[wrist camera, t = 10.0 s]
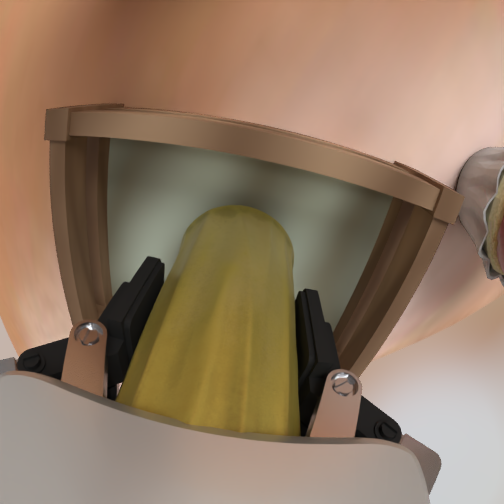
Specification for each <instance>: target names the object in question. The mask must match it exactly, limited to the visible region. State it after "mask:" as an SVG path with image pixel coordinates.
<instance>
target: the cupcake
mask: <svg viewBox="0 0 504 504" xmlns="http://www.w3.org/2000/svg"><path fill="white" fill-rule="evenodd" d="M456 192H458V193H459V194H461V195H463V196H464V197H465V198H464V201H463V204H462V206H461V209H460V211H459V214H458V215H459V218H460V221H461V223H462V225H463V226H464V228H465V229H466V231H467V232H468V234H469V235H470V237H471V238H472V240H473V242H474V243H475V245H476V247H477V251H478V254H479V256H480V257H481V258H482V261H483V264H484V268H485V272H486V275H487V278H488V279H491V280H493V279H496V278H498V277H499V279H500V281H501V283H502V285H503V286H504V147H488V148H484V149H482V150H480V151H478V152H476V153H475V154H473V155H472V156H471V157H470V158H469V160H468V161H467V162H466V164H465V165H464V167H463V169H462V171H461V173H460V176H459V180H458V184H457V190H456Z"/></svg>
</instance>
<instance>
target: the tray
mask: <svg viewBox="0 0 504 504" xmlns="http://www.w3.org/2000/svg"><path fill="white" fill-rule="evenodd" d="M123 106H124V104H91V105H79V106H69V107H61V108H53V109H46V119H45V136H44V140H50V195H51V209H52V220H53V229H54V237H55V245H56V251H57V257H58V263H59V269H60V274H61V279H62V284H63V288H64V293H65V297H66V301H67V305H68V309H69V313H70V317H71V321H72V324H73V326H74V325H75V324H76V323H78V322H80V321H82V320H87V319H92V320H98V319H99V317H100V316H101V314H102V312H103V311H104V309H105V308H106V306H107V305H108V303H109V302H110V300H111V299H112V297H113V296H114V294H115V293H116V291H117V290H118V288H119V287H120V286H121V284H122V283H123V282H125V281H126V282H130V281H131V279H132V278H133V276H134V275H135V273H136V272H137V270H138V269H139V268H140V266H141V265H142V263H143V262H144V260H145V259H146V257H147V256H151V257H155V258H160V259H161V262H162V263H165V274H164V282H165V280H166V278H167V276H168V274H169V272H170V270H171V268H172V266H173V264H174V262H175V260H176V258H177V255H178V253H179V248H180V245H181V241H182V238H183V235H184V233H185V231H186V229H187V228H188V227H189V225H190V224H191V223H192V222H193V221H194V220H195V219H196V218H198V217H199V216H200V215H202V214H203V213H205V212H206V211H208V210H210V209H213V208H216V207H221V206H227V205H243V206H248V207H252V208H255V209H258V210H260V211H262V212H264V213H266V214H268V215H270V216H271V217H273V218H274V219H275V220H276V221H278V222H279V223H280V224H281V226H282V227H283V228H284V229H285V231H286V232H287V234H288V236H289V238H290V240H291V242H292V245H293V250H294V265H293V282H294V297H295V299H296V297H297V294H298V292H299V291H303V290H304V289H305V288H307V289H312V290H317V291H318V294H319V298H320V302H321V307H322V311H323V316H324V320H325V322H328V323H330V325H331V328H332V332H333V336H334V340H335V345H336V349H337V354H338V358H339V363H340V368H341V369H344V370H348V371H350V372H352V373H353V374H355V375H356V376H357V377H358V378H359V377H360V375H361V374H362V373H363V371H364V370H365V369H366V367H367V366H368V365H369V363H370V362H371V360H372V359H373V358H374V356H375V355H376V353H377V352H378V351H379V349H380V348H381V346H382V345H383V343H384V342H385V340H386V339H387V337H388V336H389V334H390V333H391V331H392V330H393V328H394V326H395V325H396V323H397V322H398V320H399V318H400V317H401V315H402V314H403V312H404V310H405V309H406V307H407V305H408V303H409V302H410V300H411V298H412V297H413V295H414V293H415V291H416V289H417V288H418V286H419V284H420V282H421V280H422V278H423V276H424V274H425V272H426V271H427V269H428V267H429V265H430V263H431V261H432V259H433V256H434V254H435V252H436V250H437V248H438V246H439V244H440V242H441V239H442V237H443V235H444V233H445V230H446V228H447V226H448V223H450V224H452V225H454V224H455V221H456V219H457V216H458V214H459V211H460V209H461V206H462V204H463V201H464V198H465V197H464V196H463V195H461V194H459V193H458V192H456V191H454V190H453V189H451V188H449V187H447V186H446V185H444V184H442V183H440V182H438V181H437V180H435V179H433V178H431V177H429V176H427V175H425V174H423V173H421V172H420V171H418V170H416V169H414V168H411V167H409V166H406V165H404V164H401V163H399V162H396V161H395V163H394V164H392V163H390V162H387V161H384V160H382V159H379V158H376V157H374V156H371V155H368V154H365V153H362V152H359V151H356V150H353V149H350V148H347V147H344V146H341V145H337V144H334V143H331V142H327V141H324V140H320V139H317V138H313V137H310V136H306V135H302V134H298V133H294V132H290V131H286V130H282V129H278V128H273V127H269V126H264V125H260V124H255V123H250V122H245V121H239V120H234V119H228V118H222V117H216V116H209V115H202V114H195V113H187V112H178V111H169V110H158V109H144V108H126V107H123Z"/></svg>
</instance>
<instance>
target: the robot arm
mask: <svg viewBox="0 0 504 504" xmlns="http://www.w3.org/2000/svg"><path fill="white" fill-rule="evenodd" d="M164 274H165V263H162V262H161V259H160V258H155V257H151V256H147V257H146V259H145V260H144V262H143V263H142V265H141V266H140V268H139V269H138V270H137V272H136V273H135V275H134V276H133V278H132V279H131V281H130V282H126V281H125V282H123V283H122V284H121V286H120V287H119V288H118V290H117V291H116V293H115V294H114V296H113V297H112V299H111V300H110V302H109V303H108V305H107V306H106V308H105V309H104V311H103V312H102V314H101V316H100V317H99V319H98V320H92V319H87V320H82V321H80V322H78V323H76V324H75V325H74V326H73V327H72V329H71V331H70V335H69V338H65V339H62V340H59V341H55V342H52V343H48V344H45V345H42V346H38V347H35V348H31V349H28V350H26V351H24V352H23V353H22V354H21V355H20V357H19V358H18V359H17V360H15V358H14V357H13V358H8V359H3V360H0V504H430V500H429V494H430V492H431V490H432V487H433V485H434V483H435V481H436V478H437V476H438V473H439V471H440V468H441V459H440V457H439V455H438V454H437V453H436V452H434V451H433V450H431V449H429V448H428V447H426V446H425V445H423V444H422V443H420V442H418V441H417V440H415V439H414V438H412V437H410V436H409V435H408V434H405V435H402V432H401V428H400V427H399V425H398V423H397V422H396V421H394V420H393V419H392V418H391V417H389V416H388V415H387V414H385V413H384V412H382V411H381V410H380V409H378V408H377V407H376V406H375V405H373V404H372V403H371V402H370V401H368V400H367V399H366V398H364V397H363V396H362V395H361V394H362V384H361V382H360V380H359V378H358V377H357V376H356V375H355V374H353V373H352V372H350V371H348V370H344V369H341V368H340V363H339V358H338V354H337V349H336V345H335V340H334V336H333V332H332V328H331V325H330V323H328V322H325V320H324V316H323V311H322V307H321V302H320V298H319V294H318V291H317V290H312V289H307V288H305V289H304V290H303V291H299V292H298V294H297V297H296V299H295V324H296V348H297V359H298V398H299V413H300V430H301V436H283V435H270V434H260V433H251V432H247V433H240V432H236V431H231V430H225V429H219V428H214V427H206V426H197V425H190V424H185V423H183V422H181V421H179V420H177V419H174V418H169V417H166V416H162V415H158V414H154V413H151V412H147V411H144V410H140V409H137V408H134V407H131V406H127V405H124V404H121V403H118V402H115V400H116V397H117V395H118V392H119V383H121V382H123V380H124V378H125V376H126V373H127V370H128V368H129V365H130V362H131V359H132V357H133V354H134V351H135V349H136V346H137V344H138V341H139V339H140V337H141V334H142V332H143V329H144V327H145V325H146V322H147V320H148V318H149V315H150V313H151V311H152V309H153V306H154V304H155V302H156V299H157V297H158V295H159V293H160V290H161V288H162V286H163V284H164Z"/></svg>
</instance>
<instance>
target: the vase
mask: <svg viewBox="0 0 504 504" xmlns="http://www.w3.org/2000/svg"><path fill="white" fill-rule="evenodd" d="M293 265H294V250H293V245H292V242H291V240H290V238H289V236H288V234H287V232H286V231H285V229H284V228H283V227H282V226H281V224H280V223H279V222H278V221H276V220H275V219H274V218H273V217H271V216H270V215H268V214H266V213H264V212H262V211H260V210H258V209H255V208H252V207H248V206H243V205H227V206H221V207H216V208H213V209H210V210H208V211H206V212H205V213H203V214H202V215H200V216H199V217H198V218H196V219H195V220H194V221H193V222H192V223H191V224H190V225H189V227H188V228H187V229H186V231H185V233H184V235H183V238H182V241H181V245H180V248H179V253H178V255H177V258H176V260H175V262H174V264H173V266H172V268H171V270H170V272H169V274H168V276H167V278H166V280H165V282H164V284H163V286H162V288H161V290H160V293H159V295H158V297H157V299H156V302H155V304H154V306H153V309H152V311H151V313H150V315H149V318H148V320H147V322H146V325H145V327H144V329H143V332H142V334H141V337H140V339H139V341H138V344H137V346H136V349H135V351H134V354H133V357H132V359H131V362H130V365H129V368H128V370H127V373H126V376H125V378H124V380H123V383H122V385H121V387H120V390H119V392H118V395H117V397H116V400H115V402H118V403H121V404H124V405H127V406H131V407H134V408H137V409H140V410H144V411H147V412H151V413H154V414H158V415H162V416H166V417H169V418H174V419H177V420H179V421H181V422H183V423H185V424H190V425H197V426H206V427H214V428H219V429H225V430H231V431H236V432H240V433H247V432H251V433H260V434H270V435H283V436H301V430H300V413H299V398H298V359H297V348H296V324H295V297H294V282H293Z"/></svg>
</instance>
